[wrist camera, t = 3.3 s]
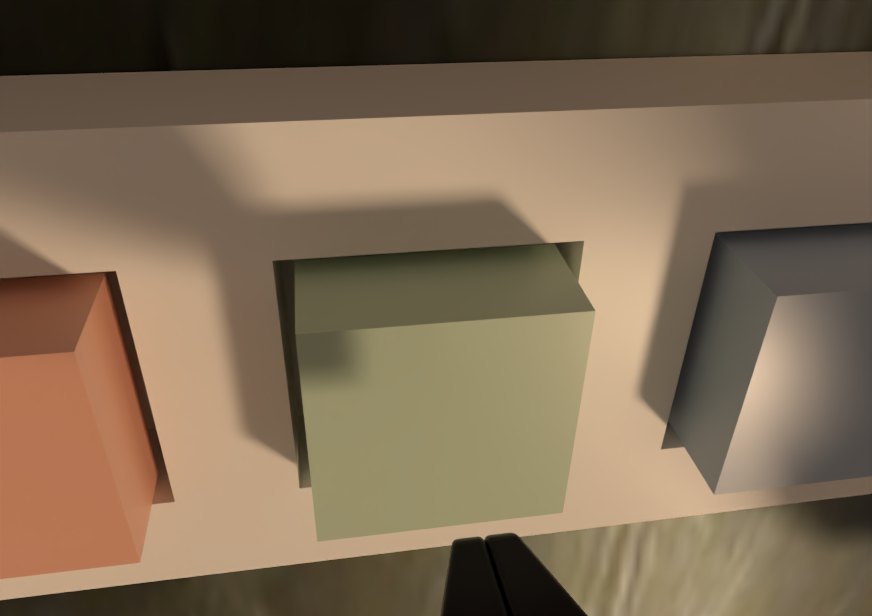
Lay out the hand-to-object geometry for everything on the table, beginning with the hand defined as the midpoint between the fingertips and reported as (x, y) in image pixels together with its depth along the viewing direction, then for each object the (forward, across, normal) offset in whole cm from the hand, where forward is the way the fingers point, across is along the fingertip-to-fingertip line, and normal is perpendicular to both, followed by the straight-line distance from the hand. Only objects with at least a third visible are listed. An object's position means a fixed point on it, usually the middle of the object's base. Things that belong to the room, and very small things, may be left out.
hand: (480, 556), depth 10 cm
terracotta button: (+4, +7, 0) cm, 8 cm away
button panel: (+6, 0, 0) cm, 6 cm away
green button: (+4, 0, 0) cm, 4 cm away
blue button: (+4, -7, 0) cm, 8 cm away
